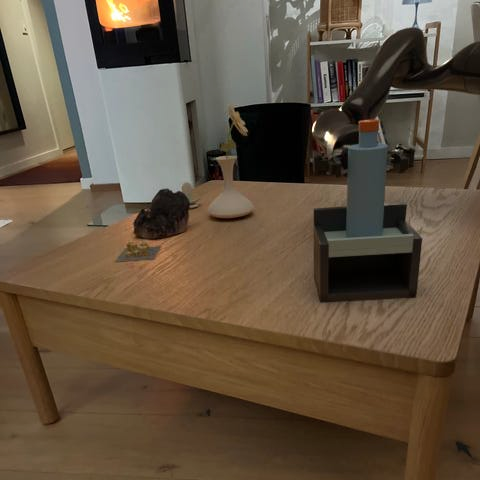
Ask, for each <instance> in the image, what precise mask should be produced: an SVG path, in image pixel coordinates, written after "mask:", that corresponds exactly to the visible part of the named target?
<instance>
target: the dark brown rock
mask: <svg viewBox="0 0 480 480" xmlns="http://www.w3.org/2000/svg"><path fill="white" fill-rule="evenodd" d="M189 207H190V202H189V199H188V198H187V196H186V195H185V194H184V193H183V192H182V190H177V191H176V192H173V190H171V189H169V188H161V189H159V190H158V191H157V193H156V194H155V195H154V197H153V198H152V199H151V202H150V204H149V205H148V206H147V208H146V209H144V208H141V209H140V211H138V213H137V215H136V218H135V219H134V220H133V224H132V225H133V235H135V236H139V237H140V238H143V239H147V240H154V239H155V240H156V239H162V238H166V237H171V236H175V235H177V234H181V233H184V232H185V231H186V230H187V227H188V222H189V218H190V213H189V212H190V211H189V210H190V208H189Z"/></svg>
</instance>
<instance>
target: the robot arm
mask: <svg viewBox="0 0 480 480" xmlns="http://www.w3.org/2000/svg"><path fill="white" fill-rule="evenodd" d="M391 88H393V89H397V90H429V91H430V90H431V91H432V90H433V91H434V90H436V91H445V92H456V93H463V94H468V95H474V96H480V40H478V41H474V42H471V43H470V44H468V45H466V46H464V47H463V48H462V49H460V50H459V51H457V52H456V53H455V54H454V55H452V56H451V57H450V58H449V59H448V60H446V61H445V62H444V63H442V64H440V65H433V64H430V63H429V60H428V52H427V45H426V38H425V34H424V31H422V30H421V28H419V27H416V26H415V27H414V26H413V27H405V28H401V29H399V30H397V31H395V32H393V33H391V34H390V35H389V36H387V38H386V39H384V41H383V42H382V43H381V45H380V47H379V48H378V51H377V52H376V55H375V56H374V58H373V60H372V62H371V63H370V65H369V68H368V69H367V71H366V73H365V74H364V76H363V78H362V80H361V81H360V83H359V84H358V85H357V86H356V88H355V89H354V90H353V91H352V92H351V94H350V95H349V96H348V97H347V98H346V100H345V101H344V102H343V103H342V104H341V106H340V108H330V109H327V110H325V111H323V112H322V113H321V114H319V116H317V118H315V120H314V122H313V125H312V129H311V135H312V137H313V139H314V140H315V141H316V143H317V144H318V145H319V146H320V148H321V149H322V150H323V151H322V150H319V149H314V150H312V171H313V175H316V176H319V175H322V174H323V172H326V174H327V175H329V176H333V177H334V179H341V177H344V178H347V177H348V147H349V146H352V145H357V144H359V121H362V120H376V118H377V117H378V116H379V115H380V113H381V112H382V110H383V109H384V107H385V105H386V103H387V101H388V98H389V95H390V92H391ZM378 140H379V139H377V143H379V141H378ZM387 145H388V152H387V168H386V171H389V170H390V169H391V170H394V171H395V172H396V173H397V174H405V172H406V171H408V170H409V169H412V168H414V167H415V153H416V148H414V147H412V146H409V145H407V144H403V143H401V142H400V143H397V144H396V145H395V146H394V148H393V147H392V146H391V145H389V144H387ZM392 159H393V163H392Z"/></svg>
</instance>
